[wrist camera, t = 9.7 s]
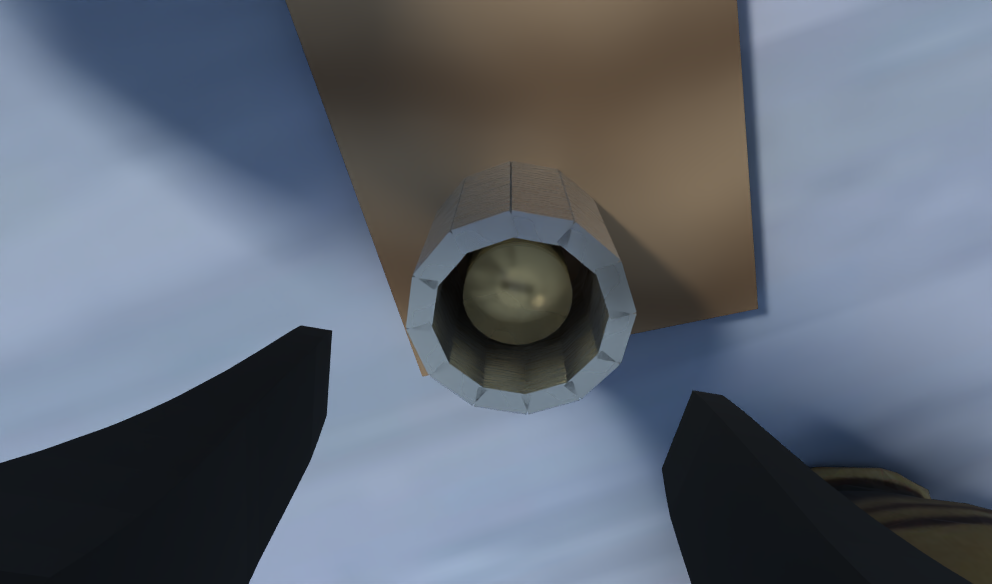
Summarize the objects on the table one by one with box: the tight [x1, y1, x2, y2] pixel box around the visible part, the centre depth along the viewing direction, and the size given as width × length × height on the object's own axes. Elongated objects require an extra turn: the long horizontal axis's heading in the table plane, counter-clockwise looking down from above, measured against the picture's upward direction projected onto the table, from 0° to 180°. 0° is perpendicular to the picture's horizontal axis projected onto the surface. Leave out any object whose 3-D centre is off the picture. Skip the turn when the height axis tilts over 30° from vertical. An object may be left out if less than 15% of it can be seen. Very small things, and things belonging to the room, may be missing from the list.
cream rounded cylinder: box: [463, 238, 572, 345], centre depth 17 cm, size 3×3×4 cm
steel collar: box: [406, 161, 636, 414], centre depth 17 cm, size 6×6×5 cm
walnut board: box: [285, 0, 758, 376], centre depth 17 cm, size 19×12×1 cm, turn 14°
